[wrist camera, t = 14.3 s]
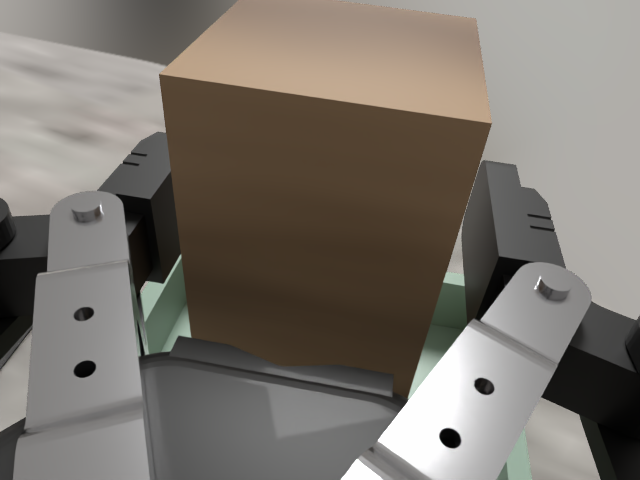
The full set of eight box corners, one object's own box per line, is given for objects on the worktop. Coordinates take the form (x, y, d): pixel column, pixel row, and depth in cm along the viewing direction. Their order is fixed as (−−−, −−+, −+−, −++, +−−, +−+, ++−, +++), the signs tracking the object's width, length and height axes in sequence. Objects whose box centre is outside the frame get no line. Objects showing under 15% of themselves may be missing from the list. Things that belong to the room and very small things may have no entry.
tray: (517, 743, 12) (566, 716, 10) (11, 626, 13) (-32, 581, 11) (480, 335, 21) (502, 281, 19) (187, 285, 22) (181, 228, 20)
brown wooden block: (369, 524, 15) (491, 123, 7) (209, 488, 15) (159, 73, 7) (383, 387, 18) (476, 18, 10) (253, 361, 18) (250, -12, 11)
